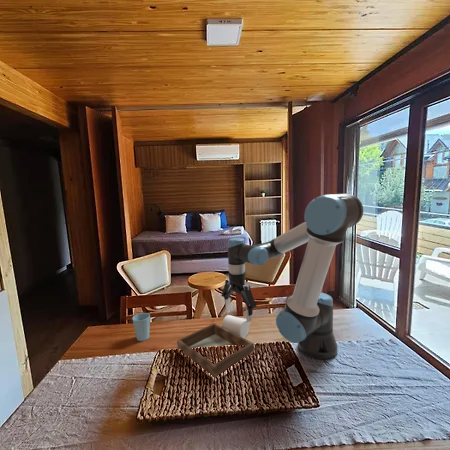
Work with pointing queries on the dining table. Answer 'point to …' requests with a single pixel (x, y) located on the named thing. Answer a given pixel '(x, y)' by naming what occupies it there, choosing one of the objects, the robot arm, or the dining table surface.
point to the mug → (236, 325)
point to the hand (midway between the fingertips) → (238, 316)
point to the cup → (142, 326)
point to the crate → (214, 337)
